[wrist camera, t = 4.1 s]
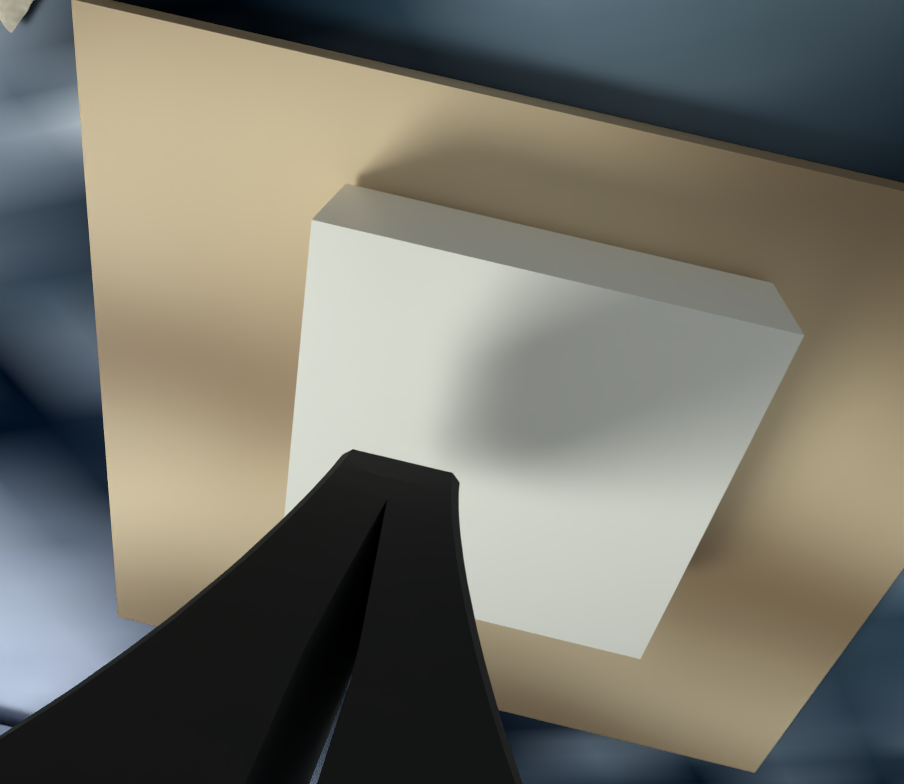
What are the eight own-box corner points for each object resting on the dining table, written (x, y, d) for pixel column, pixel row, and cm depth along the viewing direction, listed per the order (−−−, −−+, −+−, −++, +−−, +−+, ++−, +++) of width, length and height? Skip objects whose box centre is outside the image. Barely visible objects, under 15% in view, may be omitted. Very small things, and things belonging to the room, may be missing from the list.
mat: (748, 746, 16) (754, 772, 16) (132, 596, 16) (118, 617, 16) (1108, 230, 10) (1139, 245, 9) (96, -4, 10) (70, -1, 10)
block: (311, 502, 13) (632, 579, 13) (279, 571, 12) (640, 659, 12) (348, 180, 10) (770, 279, 10) (311, 219, 9) (804, 335, 9)
